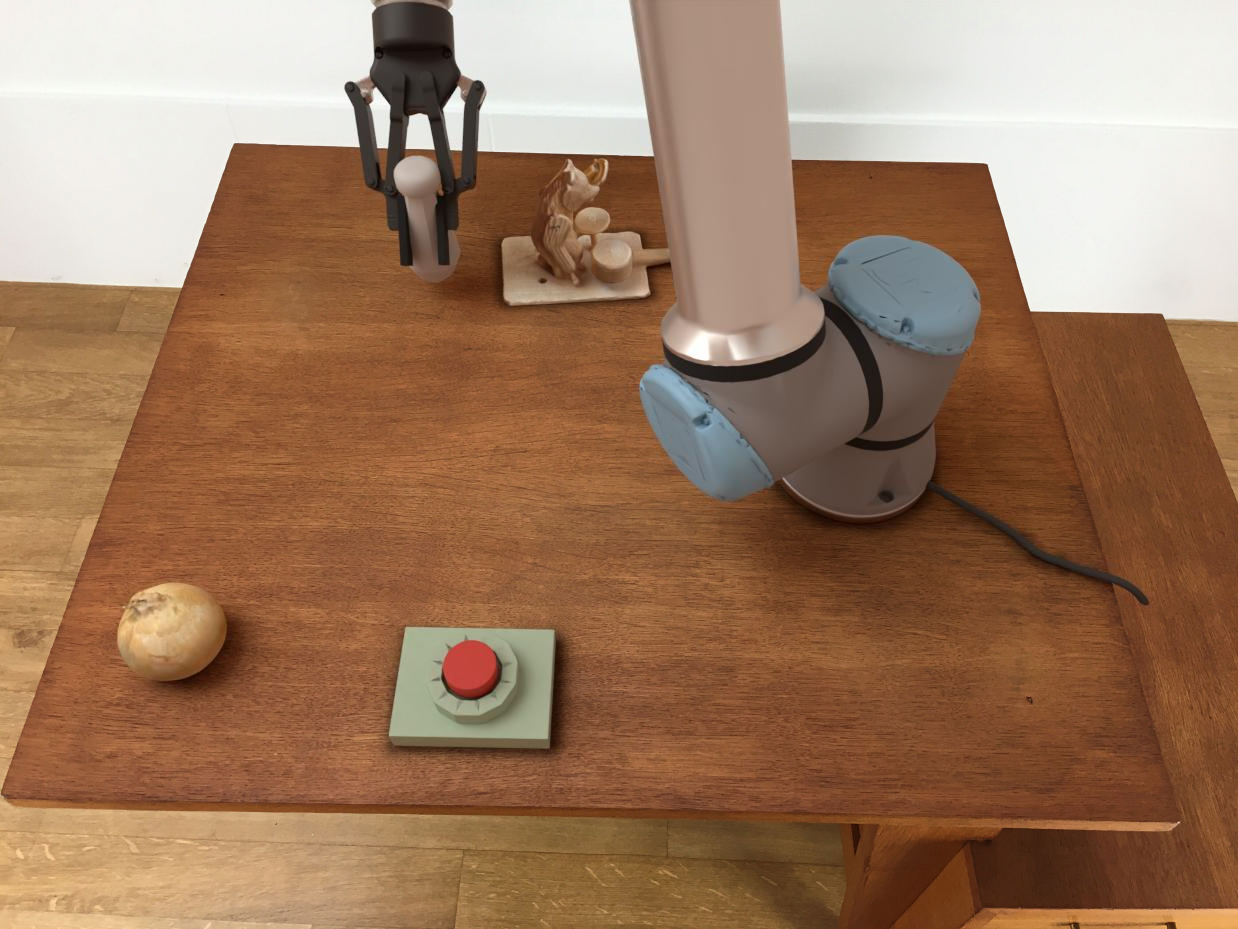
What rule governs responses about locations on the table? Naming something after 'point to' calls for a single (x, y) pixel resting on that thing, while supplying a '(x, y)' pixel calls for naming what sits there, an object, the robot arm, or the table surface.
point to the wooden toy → (575, 248)
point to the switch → (470, 669)
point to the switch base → (490, 720)
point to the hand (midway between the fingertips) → (425, 264)
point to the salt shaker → (424, 217)
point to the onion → (171, 631)
